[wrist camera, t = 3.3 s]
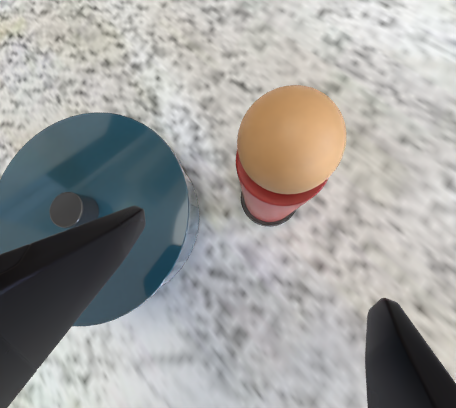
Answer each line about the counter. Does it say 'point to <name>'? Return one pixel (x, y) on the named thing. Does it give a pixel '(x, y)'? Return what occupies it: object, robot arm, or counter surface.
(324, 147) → the toy
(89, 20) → the counter surface
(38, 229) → the pot lid
